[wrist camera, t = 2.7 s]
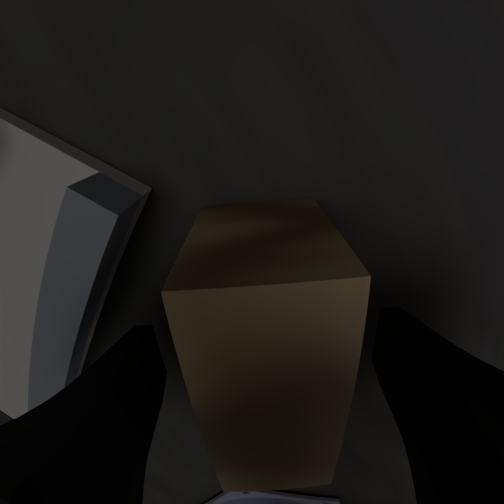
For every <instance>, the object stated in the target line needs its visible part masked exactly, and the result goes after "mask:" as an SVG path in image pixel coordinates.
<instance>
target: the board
mask: <svg viewBox="0 0 504 504" xmlns="http://www.w3.org/2000/svg"><path fill="white" fill-rule="evenodd" d="M151 190H152V188H151V187H149V186H147V185H145V184H143V183H141V182H139V181H138V180H136V179H134V178H132V177H130V176H128V175H126V174H125V173H123V172H121V171H119V170H117V169H115V168H113V167H111V166H110V165H108V164H106V163H104V162H102V161H100V160H98V159H97V158H95V157H93V156H91V155H89V154H87V153H85V152H83V151H82V150H80V149H78V148H76V147H74V146H72V145H70V144H68V143H66V142H65V141H63V140H61V139H59V138H57V137H55V136H53V135H51V134H50V133H48V132H46V131H44V130H42V129H40V128H38V127H36V126H34V125H32V124H31V123H29V122H27V121H25V120H23V119H21V118H19V117H17V116H15V115H13V114H12V113H10V112H8V111H6V110H4V109H2V108H0V410H1V411H3V412H4V413H6V414H7V415H9V416H10V417H12V418H13V419H15V418H17V417H19V416H21V415H23V414H25V413H27V412H28V411H30V410H32V409H33V408H35V407H37V406H38V405H40V404H42V403H44V402H45V401H47V400H48V399H50V398H51V397H52V396H54V395H55V394H57V393H58V392H60V391H61V390H62V389H64V388H65V387H66V386H68V385H69V384H70V383H71V382H73V381H74V380H75V379H76V378H77V377H78V376H80V375H81V372H82V368H83V365H84V361H85V358H86V355H87V352H88V348H89V345H90V342H91V339H92V336H93V333H94V330H95V327H96V324H97V321H98V318H99V315H100V313H101V310H102V307H103V304H104V301H105V299H106V296H107V293H108V291H109V288H110V285H111V283H112V280H113V277H114V275H115V272H116V270H117V267H118V265H119V262H120V260H121V257H122V255H123V253H124V250H125V248H126V245H127V243H128V241H129V238H130V236H131V234H132V231H133V229H134V227H135V225H136V222H137V220H138V218H139V216H140V214H141V211H142V209H143V207H144V205H145V203H146V201H147V198H148V196H149V194H150V192H151Z"/></svg>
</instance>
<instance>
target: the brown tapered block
mask: <svg viewBox="0 0 504 504" xmlns="http://www.w3.org/2000/svg"><path fill="white" fill-rule="evenodd" d="M370 280H371V275H370V274H369V273H368V271H367V270H366V268H365V267H364V265H363V264H362V263H361V261H360V260H359V258H358V257H357V256H356V254H355V253H354V251H353V250H352V249H351V247H350V246H349V245H348V243H347V242H346V241H345V239H344V238H343V236H342V235H341V234H340V232H339V231H338V230H337V228H336V227H335V226H334V224H333V223H332V222H331V220H330V219H329V218H328V216H327V215H326V214H325V213H324V211H323V210H322V209H321V207H320V206H319V205H318V203H317V202H316V201H315V200H314V199H297V200H281V201H266V202H252V203H239V204H227V205H215V206H204V207H202V208H201V210H200V212H199V214H198V216H197V218H196V220H195V222H194V224H193V226H192V228H191V230H190V232H189V234H188V236H187V238H186V240H185V242H184V244H183V246H182V248H181V250H180V252H179V254H178V256H177V258H176V260H175V262H174V265H173V267H172V269H171V271H170V273H169V275H168V277H167V279H166V281H165V284H164V286H163V288H162V290H161V294H162V298H163V303H164V307H165V311H166V315H167V319H168V323H169V327H170V331H171V334H172V338H173V342H174V346H175V349H176V353H177V356H178V360H179V363H180V367H181V370H182V374H183V377H184V381H185V384H186V387H187V390H188V394H189V397H190V400H191V403H192V406H193V409H194V412H195V415H196V418H197V421H198V424H199V427H200V430H201V433H202V436H203V439H204V442H205V445H206V447H207V450H208V453H209V456H210V458H211V461H212V464H213V466H214V469H215V472H216V474H217V477H218V479H219V482H220V484H221V487H222V489H223V492H245V491H269V490H283V489H294V488H304V487H312V486H320V485H327V484H331V482H332V479H333V475H334V472H335V468H336V465H337V461H338V457H339V453H340V450H341V446H342V442H343V438H344V434H345V430H346V425H347V421H348V417H349V412H350V407H351V403H352V398H353V393H354V388H355V383H356V378H357V372H358V367H359V361H360V355H361V349H362V343H363V336H364V329H365V322H366V315H367V307H368V299H369V290H370Z"/></svg>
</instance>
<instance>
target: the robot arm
mask: <svg viewBox="0 0 504 504" xmlns="http://www.w3.org/2000/svg"><path fill="white" fill-rule="evenodd" d="M372 359H373V363H374V367H375V370H376V374H377V377H378V380H379V383H380V386H381V388H382V390H383V393H384V395H385V398H386V400H387V402H388V405H389V407H390V409H391V412H392V414H393V416H394V419H395V421H396V423H397V426H398V428H399V431H400V433H401V436H402V439H403V441H404V444H405V448H406V452H407V456H408V460H409V464H410V468H411V473H412V478H413V483H414V488H415V494H416V501H417V504H504V371H502V370H500V369H498V368H496V367H494V366H492V365H490V364H488V363H486V362H484V361H482V360H480V359H478V358H476V357H474V356H472V355H471V354H469V353H467V352H466V351H464V350H462V349H461V348H459V347H457V346H456V345H454V344H453V343H451V342H450V341H448V340H447V339H445V338H444V337H442V336H441V335H439V334H438V333H436V332H435V331H433V330H432V329H430V328H429V327H427V326H426V325H425V324H423V323H422V322H420V321H419V320H417V319H416V318H415V317H413V316H412V315H410V314H409V313H407V312H406V311H404V310H403V309H401V308H399V307H397V306H396V307H389V308H381V309H380V313H379V319H378V326H377V331H376V337H375V343H374V348H373V353H372ZM166 373H167V371H166V368H165V365H164V362H163V359H162V356H161V353H160V349H159V346H158V343H157V340H156V336H155V333H154V329H153V326H152V325H140V326H134V327H133V328H131V329H130V330H129V331H128V332H127V333H126V334H125V335H124V336H123V337H121V338H120V339H119V340H118V341H117V342H116V343H115V344H114V345H113V346H112V347H111V348H110V349H109V350H108V351H107V352H105V353H104V354H103V355H102V356H101V357H100V358H99V359H98V360H97V361H96V362H95V363H94V364H93V365H91V366H90V367H89V368H88V369H87V370H85V371H84V372H83V373H82V374H81V375H80V376H78V377H77V378H76V379H75V380H74V381H73V382H71V383H70V384H69V385H68V386H66V387H65V388H64V389H62V390H61V391H60V392H58V393H57V394H55V395H54V396H52V397H51V398H50V399H48V400H47V401H45V402H44V403H42V404H40V405H38V406H37V407H35V408H33V409H32V410H30V411H28V412H27V413H25V414H23V415H21V416H19V417H17V418H15V419H13V420H11V421H9V422H7V423H5V424H3V425H0V504H142V499H143V487H144V478H145V470H146V463H147V458H148V453H149V449H150V445H151V441H152V438H153V434H154V430H155V427H156V423H157V419H158V416H159V412H160V408H161V404H162V401H163V396H164V389H165V381H166ZM205 504H340V500H339V499H337V498H325V497H315V496H306V495H298V494H291V493H284V492H278V491H272V490H269V491H245V492H223V493H221V494H220V495H218V496H217V497H215V498H213V499H212V500H210V501H208V502H206V503H205Z"/></svg>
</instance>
